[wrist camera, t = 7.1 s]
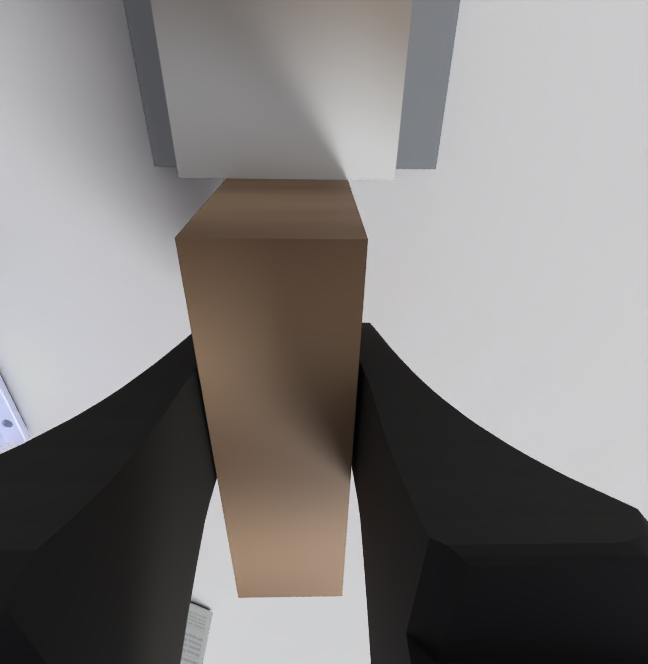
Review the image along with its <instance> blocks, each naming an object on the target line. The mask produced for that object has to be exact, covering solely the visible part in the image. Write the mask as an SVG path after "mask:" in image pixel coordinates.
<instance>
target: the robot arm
mask: <svg viewBox="0 0 648 664" xmlns="http://www.w3.org/2000/svg"><path fill="white" fill-rule="evenodd" d="M28 437H29V433H28V431H27V429H26V427H25V425H24V422H23V420H22V418H21V416H20V414H19V412H18V410H17V408H16V406H15V404H14V402H13V400H12V398H11V396H10V394H9V392H8V390H7V388H6V386H5V384H4V382H3V380H2V377H1V375H0V452H1V451H2V449H3V448H4V447H5V446H6V445H18V444H21V445H19V446H17V447H15V448H13V449H11V450H9V451H6V452H4V453H2V454H0V664H180V663H181V657H182V650H183V644H184V638H185V631H186V625H187V619H188V612H189V606H190V601H191V595H192V589H193V583H194V577H195V572H196V566H197V560H198V555H199V550H200V544H201V539H202V534H203V528H204V523H205V519H206V515H207V511H208V507H209V503H210V499H211V496H212V492H213V489H214V486H215V482H216V479H217V473H216V468H215V462H214V456H213V451H212V445H211V439H210V434H209V428H208V422H207V417H206V411H205V406H204V400H203V394H202V389H201V383H200V377H199V372H198V366H197V360H196V355H195V349H194V343H193V338H192V334H191V335H189V336H188V337H187V338H186V339H185V340H183V341H182V342H181V343H180V344H179V345H177V346H176V347H175V348H174V349H173V350H171V351H170V352H169V353H168V354H166V355H165V356H164V357H163V358H161V359H160V360H159V361H158V362H156V363H155V364H154V365H152V366H151V367H150V368H148V369H147V370H146V371H144V372H143V373H141V374H140V375H139V376H137V377H136V378H135V379H133V380H132V381H131V382H129V383H128V384H126V385H125V386H124V387H122V388H121V389H119V390H118V391H116V392H115V393H113V394H112V395H110V396H109V397H107V398H105V399H104V400H102V401H101V402H99V403H97V404H96V405H94V406H92V407H91V408H89V409H87V410H86V411H84V412H82V413H81V414H79V415H77V416H75V417H74V418H72V419H70V420H68V421H66V422H64V423H62V424H60V425H58V426H56V427H55V428H53V429H51V430H49V431H47V432H45V433H43V434H41V435H39V436H37V437H35V438H33V439H31V440H29V441H27V442H25V441H26V440H27V439H28ZM352 471H353V476H354V482H355V487H356V493H357V498H358V505H359V512H360V520H361V532H362V545H363V557H364V570H365V583H366V597H367V610H368V625H369V640H370V655H371V664H648V521H647V520H646V519H645V517H644V516H643V515H642V514H641V513H640V512H639V510H638V509H636V508H634V507H632V506H630V505H628V504H626V503H623V502H621V501H619V500H617V499H615V498H612V497H610V496H608V495H606V494H604V493H602V492H599V491H597V490H595V489H593V488H591V487H588V486H586V485H584V484H582V483H580V482H578V481H575V480H573V479H571V478H569V477H567V476H565V475H563V474H561V473H559V472H557V471H555V470H554V469H552V468H550V467H548V466H546V465H544V464H542V463H540V462H539V461H537V460H535V459H533V458H531V457H529V456H527V455H526V454H524V453H522V452H520V451H519V450H517V449H515V448H514V447H512V446H510V445H508V444H507V443H505V442H504V441H502V440H500V439H499V438H497V437H496V436H494V435H493V434H491V433H490V432H488V431H486V430H485V429H483V428H482V427H480V426H479V425H477V424H476V423H474V422H473V421H471V420H470V419H469V418H467V417H466V416H464V415H463V414H462V413H461V412H459V411H458V410H457V409H455V408H454V407H453V406H451V405H450V404H449V403H447V402H446V401H445V400H444V399H442V398H441V397H440V396H439V395H438V394H436V393H435V392H434V391H433V390H432V389H431V388H430V387H428V386H427V385H426V384H425V383H424V382H423V381H422V380H421V379H420V378H419V377H418V376H417V375H416V374H415V373H414V372H413V371H412V370H411V369H410V368H409V367H408V366H407V365H406V364H405V363H404V362H403V361H402V360H401V359H400V358H399V357H398V355H397V354H396V353H395V352H394V351H393V350H392V349H391V348H390V346H389V345H388V344H387V343H386V342H385V340H384V339H383V338H382V337H381V336H380V334H379V333H378V332H377V331H376V329H375V328H374V327H373V326H372V325H371V324H370V323H362V327H361V341H360V355H359V368H358V382H357V396H356V410H355V423H354V437H353V451H352Z"/></svg>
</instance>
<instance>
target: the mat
mask: <svg viewBox="0 0 648 664" xmlns="http://www.w3.org/2000/svg"><path fill="white" fill-rule="evenodd" d="M123 1H124V6H125V11H126V17H127V22H128V27H129V33H130V38H131V43H132V49H133V54H134V59H135V65H136V70H137V75H138V81H139V86H140V91H141V97H142V102H143V108H144V113H145V118H146V124H147V129H148V134H149V140H150V145H151V150H152V156H153V161H154V166H171V167H177V164H176V158H175V152H174V145H173V139H172V133H171V126H170V120H169V114H168V108H167V101H166V95H165V89H164V83H163V76H162V70H161V64H160V58H159V51H158V45H157V39H156V32H155V26H154V20H153V14H152V7H151V1H150V0H123ZM459 5H460V0H413V1H412V11H411V21H410V31H409V41H408V51H407V61H406V71H405V81H404V91H403V101H402V111H401V121H400V131H399V141H398V151H397V161H396V169H436V164H437V157H438V150H439V143H440V136H441V129H442V122H443V115H444V108H445V101H446V95H447V88H448V81H449V74H450V67H451V60H452V53H453V46H454V39H455V32H456V25H457V19H458V12H459Z"/></svg>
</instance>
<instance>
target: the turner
mask: <svg viewBox="0 0 648 664" xmlns="http://www.w3.org/2000/svg"><path fill="white" fill-rule="evenodd" d="M150 1H151V7H152V14H153V20H154V26H155V32H156V39H157V45H158V51H159V58H160V64H161V70H162V76H163V83H164V89H165V95H166V101H167V108H168V114H169V120H170V126H171V133H172V139H173V145H174V152H175V158H176V164H177V170H178V177H179V178H227V179H226V180H225V181H224V182H223V183H222V184H221V186H220V187H219V188H218V189H217V190H216V191H215V192H214V194H213V195H212V196H211V197H210V198H209V199H208V200H207V202H206V203H205V204H204V205H203V206H202V207H201V208H200V210H199V211H198V212H197V213H196V214H195V215H194V216H193V217H192V219H191V220H190V221H189V222H188V223H187V224H186V225H185V227H184V228H183V229H182V230H181V231H180V232H179V233H178V235H177V236H176V237H175V242H176V247H177V253H178V258H179V264H180V270H181V275H182V281H183V287H184V292H185V298H186V304H187V309H188V315H189V321H190V326H191V332H192V338H193V343H194V349H195V355H196V360H197V366H198V372H199V377H200V383H201V389H202V394H203V400H204V406H205V411H206V417H207V422H208V428H209V434H210V439H211V445H212V451H213V456H214V462H215V468H216V473H217V479H218V485H219V490H220V496H221V502H222V507H223V513H224V519H225V524H226V530H227V536H228V541H229V547H230V553H231V558H232V564H233V569H234V575H235V581H236V586H237V592H238V598H247V597H312V596H342V589H343V575H344V561H345V547H346V534H347V520H348V506H349V492H350V478H351V465H352V451H353V437H354V423H355V410H356V396H357V382H358V368H359V355H360V341H361V327H362V313H363V300H364V286H365V272H366V258H367V244H368V238H367V235H366V232H365V229H364V226H363V223H362V220H361V218H360V215H359V212H358V209H357V206H356V203H355V200H354V197H353V194H352V191H351V188H350V185H349V182H348V180H395V171H396V161H397V151H398V141H399V131H400V121H401V111H402V101H403V91H404V81H405V71H406V61H407V51H408V41H409V31H410V21H411V11H412V1H413V0H150Z"/></svg>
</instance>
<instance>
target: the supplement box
mask: <svg viewBox="0 0 648 664" xmlns="http://www.w3.org/2000/svg"><path fill="white" fill-rule="evenodd" d="M212 615H213V613H212V612H211V611H209V610H207V609H205V608H202V607H200V606H198V605H195V604H193V603H190V606H189V612H188V619H187V625H186V631H185V638H184V644H183V650H182V657H181V663H180V664H203V660H204V655H205V650H206V645H207V640H208V634H209V629H210V624H211V619H212Z"/></svg>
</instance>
